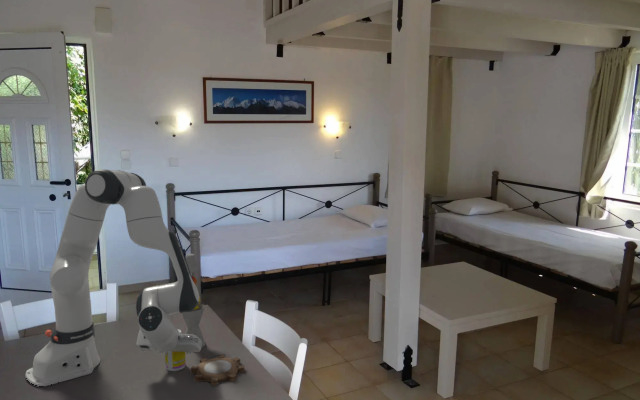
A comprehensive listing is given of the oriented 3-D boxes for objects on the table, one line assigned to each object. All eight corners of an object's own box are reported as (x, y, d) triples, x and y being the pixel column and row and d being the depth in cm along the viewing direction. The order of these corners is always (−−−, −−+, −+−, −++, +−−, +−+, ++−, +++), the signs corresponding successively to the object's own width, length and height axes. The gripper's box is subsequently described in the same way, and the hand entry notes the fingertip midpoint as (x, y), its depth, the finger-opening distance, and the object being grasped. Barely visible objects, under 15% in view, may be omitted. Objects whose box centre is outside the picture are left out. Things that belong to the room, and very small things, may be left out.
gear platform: (212, 391, 156) (212, 386, 155) (180, 372, 167) (180, 367, 167) (255, 370, 169) (255, 365, 168) (223, 354, 180) (222, 349, 180)
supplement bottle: (189, 364, 173) (188, 329, 171) (178, 373, 166) (176, 337, 164) (173, 361, 175) (171, 326, 173) (161, 370, 169) (159, 334, 166)
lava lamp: (188, 352, 181) (185, 259, 175) (176, 344, 188) (173, 254, 182) (210, 344, 187) (207, 254, 182) (198, 337, 194) (195, 249, 188)
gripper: (198, 327, 160) (207, 342, 172) (135, 326, 161) (148, 341, 172) (195, 347, 157) (204, 361, 168) (131, 345, 157) (144, 359, 169)
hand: (175, 351), depth 170 cm, fingers open, 8 cm apart
